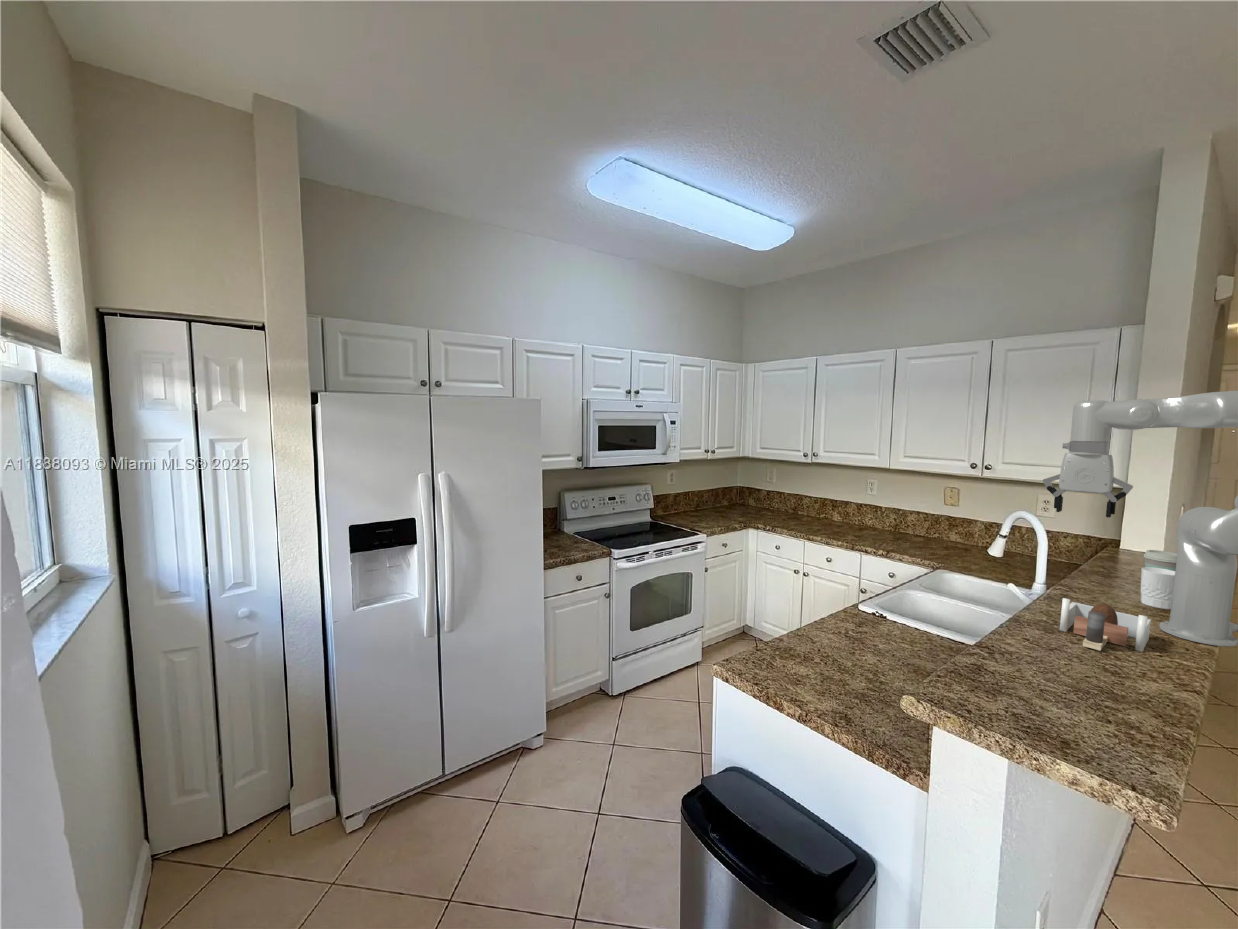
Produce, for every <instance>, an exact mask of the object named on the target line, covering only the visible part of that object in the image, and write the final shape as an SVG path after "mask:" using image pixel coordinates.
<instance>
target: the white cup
mask: <svg viewBox="0 0 1238 929" xmlns="http://www.w3.org/2000/svg"><path fill="white" fill-rule="evenodd" d="M1140 570H1141V572H1140V574H1141V576H1140V602H1141V604H1143V605H1145V606H1148V607H1153V608H1156V609H1162V610H1171V604H1172V595H1173V587H1174V578H1175V571H1171V570H1166V569H1161V568H1152V567H1145V566H1144V567H1141V569H1140Z"/></svg>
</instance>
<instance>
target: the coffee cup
mask: <svg viewBox="0 0 1238 929" xmlns="http://www.w3.org/2000/svg"><path fill="white" fill-rule="evenodd" d="M1143 557H1144V567H1152V568H1161V569H1166V570H1171V571H1175V570H1176V562H1177V553H1176V552H1172V551H1166V550H1159V549H1158V550H1157V549H1156V550H1155V549H1148V550H1146V551H1145V553H1144V554H1143Z"/></svg>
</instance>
